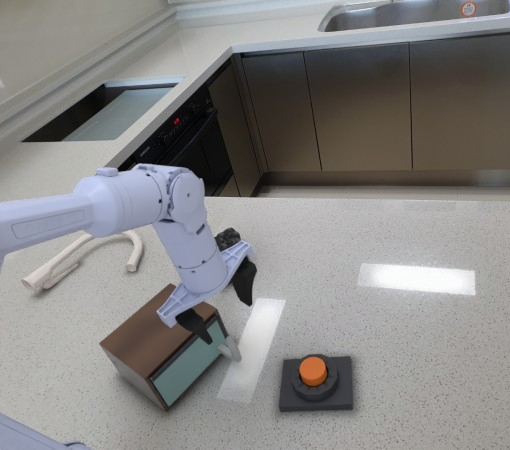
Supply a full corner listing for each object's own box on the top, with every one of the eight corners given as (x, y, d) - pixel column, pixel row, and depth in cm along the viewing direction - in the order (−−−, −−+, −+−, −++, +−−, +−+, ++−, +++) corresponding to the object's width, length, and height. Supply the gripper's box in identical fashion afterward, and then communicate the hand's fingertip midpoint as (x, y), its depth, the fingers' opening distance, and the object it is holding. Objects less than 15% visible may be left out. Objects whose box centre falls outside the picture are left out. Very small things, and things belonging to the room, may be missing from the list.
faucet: (29, 294, 93) (106, 231, 107) (93, 323, 86) (166, 252, 100) (18, 276, 89) (98, 214, 104) (82, 305, 83) (160, 234, 97)
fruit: (212, 205, 91) (198, 254, 79) (254, 210, 91) (247, 259, 79) (210, 239, 96) (197, 290, 84) (250, 243, 97) (243, 295, 84)
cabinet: (232, 343, 74) (217, 308, 69) (166, 412, 67) (144, 378, 62) (186, 316, 81) (170, 282, 76) (121, 376, 73) (98, 343, 68)
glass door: (251, 355, 70) (240, 326, 66) (189, 423, 63) (173, 395, 59) (228, 341, 73) (216, 313, 69) (167, 405, 66) (149, 378, 62)
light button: (300, 387, 63) (298, 379, 62) (302, 364, 66) (300, 357, 65) (326, 386, 62) (325, 378, 61) (327, 363, 65) (325, 356, 64)
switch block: (280, 411, 64) (276, 399, 62) (285, 364, 69) (281, 352, 68) (352, 409, 62) (350, 397, 60) (351, 361, 68) (349, 348, 66)
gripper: (217, 208, 62) (245, 276, 70) (127, 277, 55) (170, 343, 63) (253, 225, 57) (277, 295, 66) (160, 302, 50) (201, 369, 59)
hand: (227, 320), depth 64 cm, fingers open, 7 cm apart
